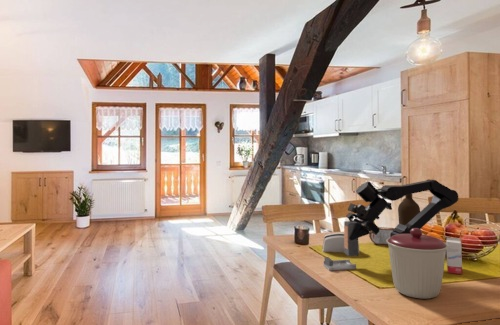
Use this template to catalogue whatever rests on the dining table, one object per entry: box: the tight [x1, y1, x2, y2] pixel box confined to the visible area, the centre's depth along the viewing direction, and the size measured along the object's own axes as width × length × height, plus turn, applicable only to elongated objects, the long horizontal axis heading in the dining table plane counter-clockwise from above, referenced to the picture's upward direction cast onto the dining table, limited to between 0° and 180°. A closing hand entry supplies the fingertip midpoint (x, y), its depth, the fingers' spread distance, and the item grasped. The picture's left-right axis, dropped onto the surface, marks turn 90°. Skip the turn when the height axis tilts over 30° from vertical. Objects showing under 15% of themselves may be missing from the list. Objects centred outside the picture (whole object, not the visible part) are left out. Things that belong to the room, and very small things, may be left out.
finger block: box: [343, 220, 359, 257], centre depth 137 cm, size 4×4×13 cm
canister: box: [386, 228, 449, 300], centre depth 111 cm, size 18×18×21 cm
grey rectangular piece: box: [323, 256, 357, 272], centre depth 137 cm, size 11×6×4 cm, turn 98°
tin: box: [368, 226, 395, 246], centre depth 170 cm, size 15×3×8 cm, turn 76°
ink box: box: [445, 237, 463, 275], centre depth 131 cm, size 9×5×12 cm, turn 150°
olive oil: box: [397, 194, 421, 225], centre depth 181 cm, size 11×11×25 cm
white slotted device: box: [322, 232, 360, 254], centre depth 158 cm, size 17×5×10 cm, turn 81°
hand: (347, 238), depth 137 cm, fingers closed on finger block, 4 cm apart
